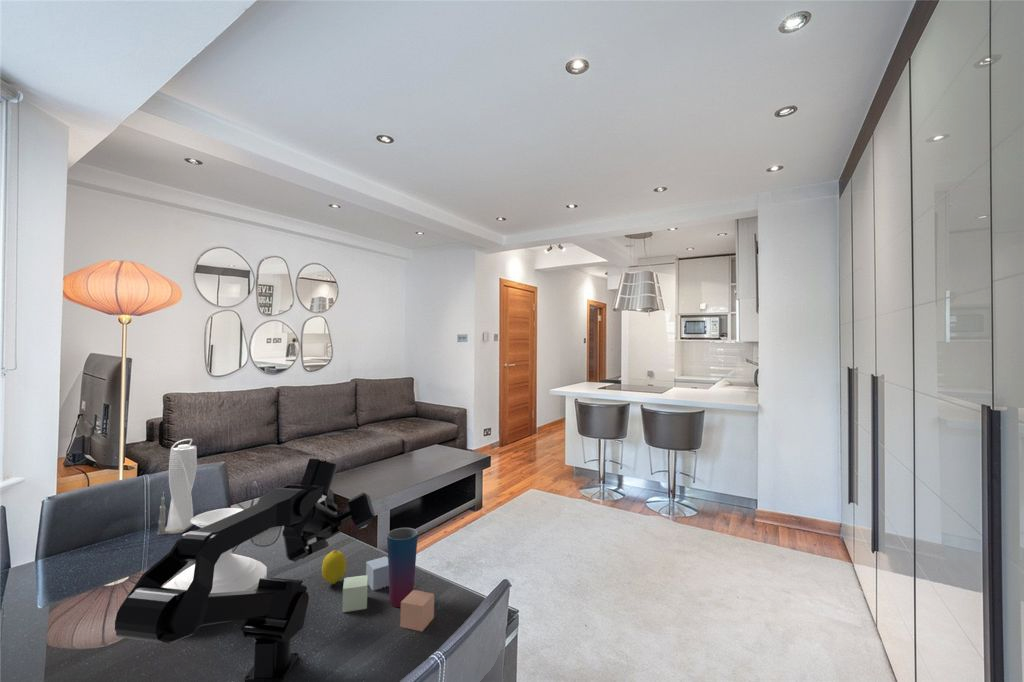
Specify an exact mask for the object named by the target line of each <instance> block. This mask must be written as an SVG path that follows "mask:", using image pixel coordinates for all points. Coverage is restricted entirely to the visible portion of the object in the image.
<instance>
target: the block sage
mask: <svg viewBox="0 0 1024 682" xmlns="http://www.w3.org/2000/svg"><path fill="white" fill-rule="evenodd" d="M367 608H368V575H366V574H365V575H357V576H356V575H355V576H350V577H349V576H348V577H344V579H343V586H342V613H348V612H354V611H355V612H356V611H361V610H366V609H367Z"/></svg>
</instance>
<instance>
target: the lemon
mask: <svg viewBox="0 0 1024 682" xmlns="http://www.w3.org/2000/svg"><path fill="white" fill-rule="evenodd" d="M346 570H347V560H346V556H345V555H344V553H343V552H341V551H339V550H336V549H334V550H332V551H331V552H328V554H326V555H325V557H324V559H323V561H322V564H321V575H322V578H323V580H324V581H325V582H327V583H330V584H331V585H335V584H336V583H337V582H338V581H340V580H341V579H343V577H344V576H345V573H346Z"/></svg>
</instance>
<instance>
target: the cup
mask: <svg viewBox="0 0 1024 682" xmlns="http://www.w3.org/2000/svg"><path fill="white" fill-rule="evenodd" d="M418 535H419V531H418V530H417V529H415V528H412V527H399V528H394V529H392V530H390V531H389V532H388V533H386V540H387V541H386V542H387V543H386V545H387V558H388V568H389V586H388V588H389V589H388V591H389V604H390V605H391V606H392V607H395V608H401V601H402V600H403V599H405V598H406V597H407V596H408V595H409V594H410V593H411V592H412V591H413V590H415V588H414V587H415V577H416V576H415V575H416V563H417V550H418V538H419V537H418Z"/></svg>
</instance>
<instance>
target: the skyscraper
mask: <svg viewBox="0 0 1024 682" xmlns="http://www.w3.org/2000/svg"><path fill="white" fill-rule="evenodd" d="M184 441H185V442H186V441H190V442H189V443H188V444H179V443H181V442H184ZM192 443H193V438H184V439H181V440H178V441H176V442H175V443H174V444H173V445H172V446H171V447H170V453H169V458H168V459H169V460H168V485H169V491H170V495H171V499H170V505H169V509H168V510H169V511H168V515H167V519H166V508H167V505H165V499H166V497H165V494H164V493H165V492H164V491H163V492H162V497H161V498H160V499H161V501H160V502H161V505H160V506H159V518H158V523H157V524H158V529H157V533H156V536H157V535H159V536H160V535H175V534H184V532H186V531H187V530H189V529H190V528H191V527H194V526H195V525H194V524H192V523H191V522H190V521H191V519H192V518H193V517H195V516H194V505H193V498H192V490H193V487H194V484H195V479H196V475H197V467H198V466H197V465H198V464H197V462H198V453H197V452H198V451H197V446H196V445H192ZM177 444H179V445H177ZM176 445H177V447H175V446H176ZM166 520H167V524H166Z"/></svg>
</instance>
